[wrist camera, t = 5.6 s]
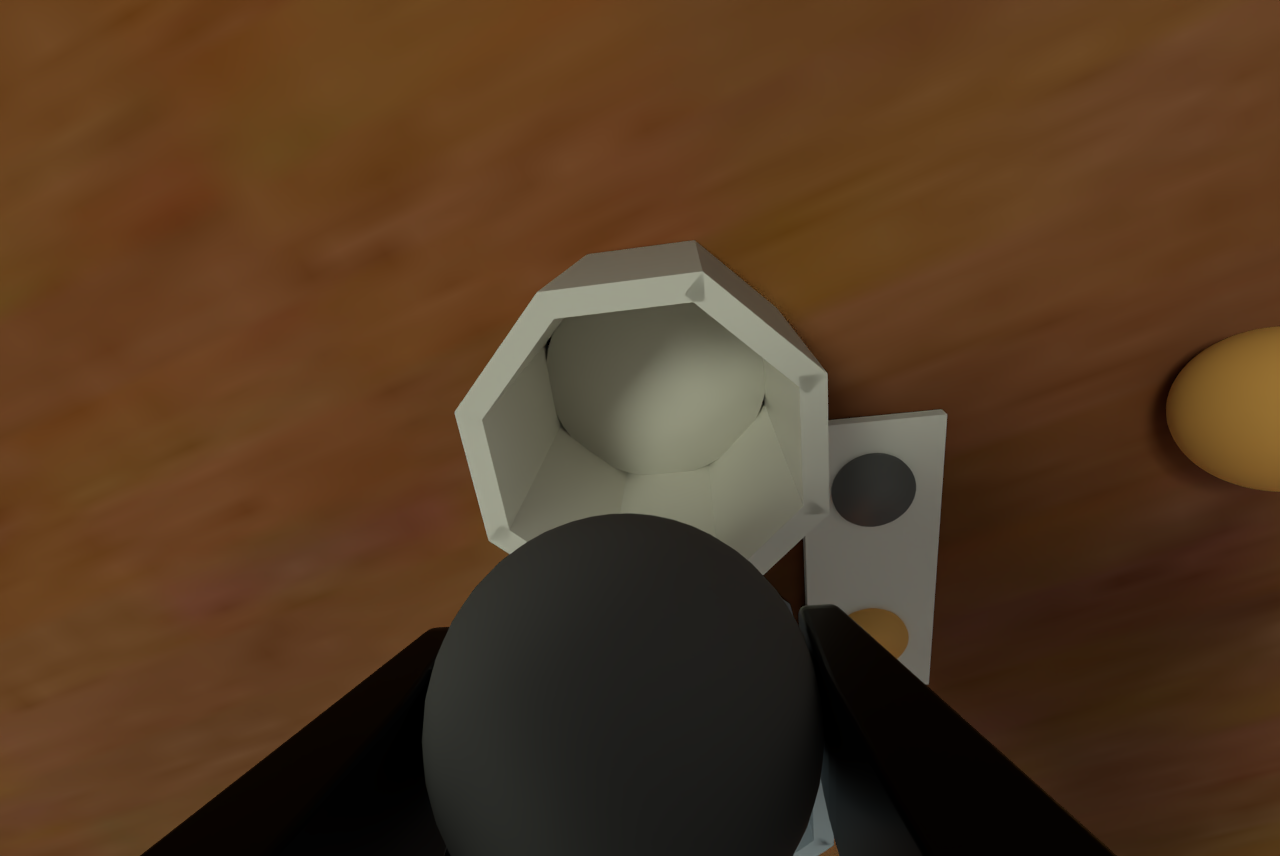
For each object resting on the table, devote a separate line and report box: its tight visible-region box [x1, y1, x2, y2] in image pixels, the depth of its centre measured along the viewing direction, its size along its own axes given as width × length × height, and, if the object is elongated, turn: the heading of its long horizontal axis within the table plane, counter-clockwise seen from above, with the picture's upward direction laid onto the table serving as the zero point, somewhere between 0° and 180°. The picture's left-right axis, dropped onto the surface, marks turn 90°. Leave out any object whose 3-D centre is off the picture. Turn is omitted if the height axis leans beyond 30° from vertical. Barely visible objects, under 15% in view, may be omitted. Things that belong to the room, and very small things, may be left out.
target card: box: [803, 409, 947, 684], centre depth 19 cm, size 10×4×1 cm, turn 8°
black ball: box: [422, 513, 824, 856], centre depth 6 cm, size 4×4×4 cm
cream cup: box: [454, 240, 829, 575], centre depth 14 cm, size 7×7×6 cm
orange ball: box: [1166, 326, 1280, 492], centre depth 14 cm, size 4×4×4 cm
